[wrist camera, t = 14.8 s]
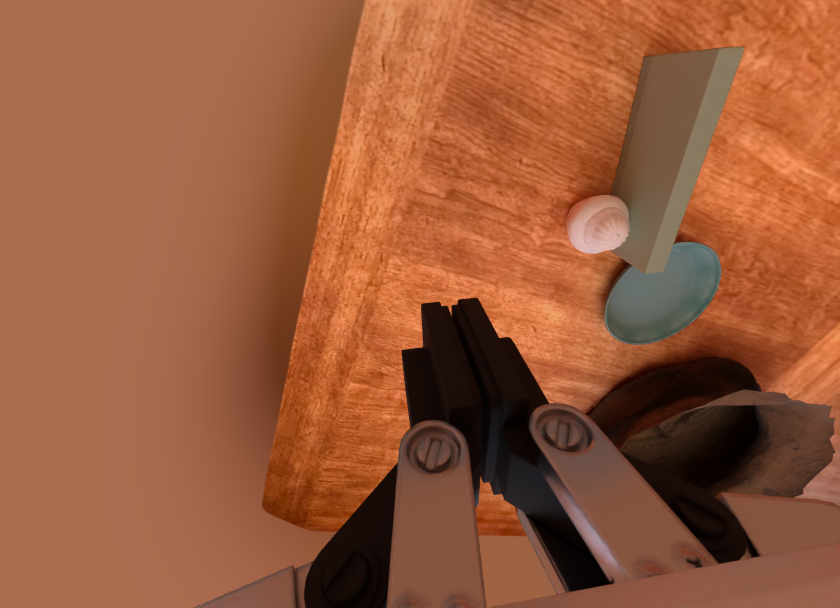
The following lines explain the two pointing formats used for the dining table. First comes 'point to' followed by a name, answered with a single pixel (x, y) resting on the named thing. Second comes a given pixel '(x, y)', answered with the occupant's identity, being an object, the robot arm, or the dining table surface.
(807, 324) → the dining table surface
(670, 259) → the saucer
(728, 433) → the bowl
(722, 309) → the dining table surface
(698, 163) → the wall
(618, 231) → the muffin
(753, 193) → the dining table surface
